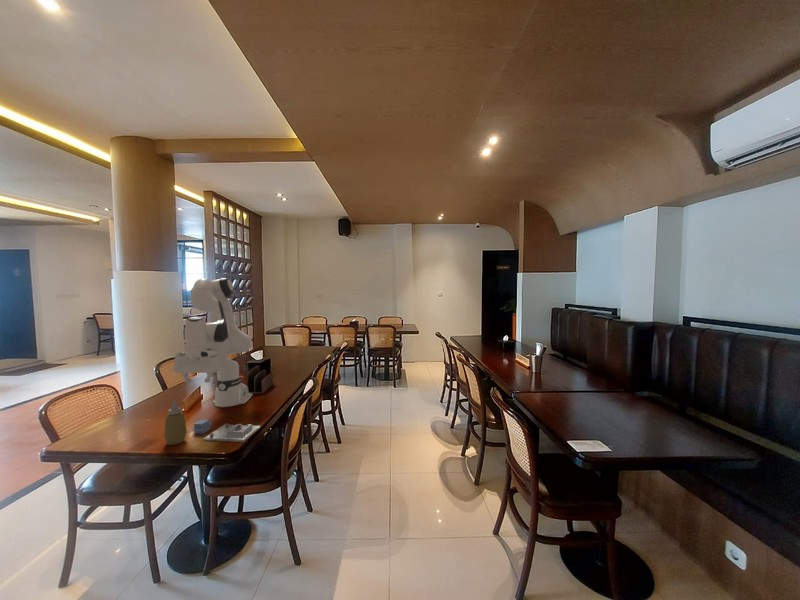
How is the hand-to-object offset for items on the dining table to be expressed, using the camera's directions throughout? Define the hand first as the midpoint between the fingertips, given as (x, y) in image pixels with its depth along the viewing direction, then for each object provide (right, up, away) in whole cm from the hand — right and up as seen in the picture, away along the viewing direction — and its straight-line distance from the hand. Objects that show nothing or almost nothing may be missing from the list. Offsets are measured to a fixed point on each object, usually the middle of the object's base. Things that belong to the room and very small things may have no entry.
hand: (197, 382), depth 151 cm
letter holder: (+2, -20, +63) cm, 66 cm away
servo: (+2, -23, 0) cm, 23 cm away
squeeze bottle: (-3, -23, -10) cm, 26 cm away
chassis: (+18, -23, -2) cm, 29 cm away
